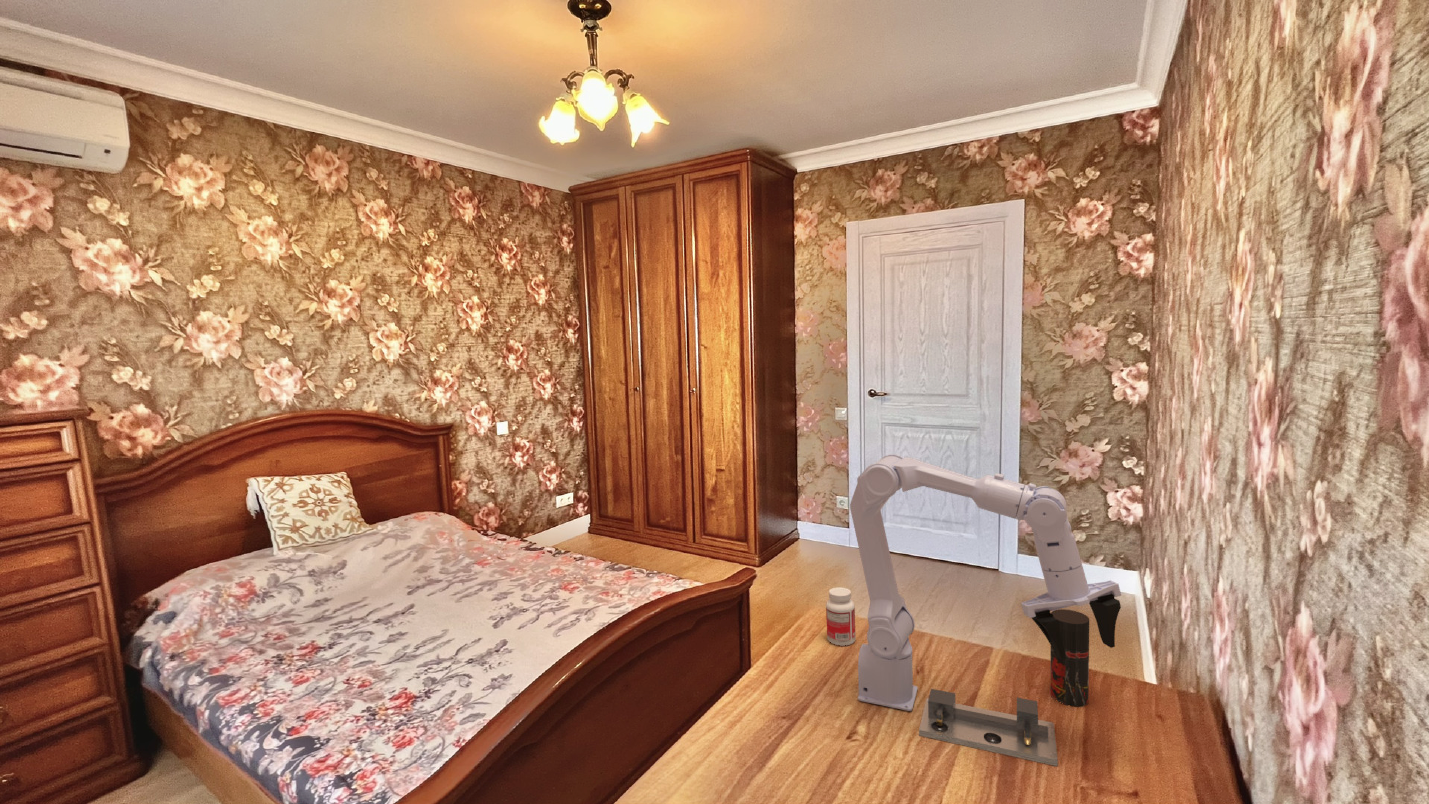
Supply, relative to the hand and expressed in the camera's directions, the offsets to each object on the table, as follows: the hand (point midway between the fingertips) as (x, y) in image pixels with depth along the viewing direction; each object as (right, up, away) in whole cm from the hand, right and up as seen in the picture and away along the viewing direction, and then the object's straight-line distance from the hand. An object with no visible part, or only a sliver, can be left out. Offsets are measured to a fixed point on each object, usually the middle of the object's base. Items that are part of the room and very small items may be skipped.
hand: (1084, 651), depth 96 cm
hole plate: (-13, -16, +6) cm, 21 cm away
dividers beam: (-13, -15, +5) cm, 20 cm away
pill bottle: (-30, -14, +39) cm, 51 cm away
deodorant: (+6, -14, +14) cm, 21 cm away
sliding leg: (-8, -14, +3) cm, 16 cm away
